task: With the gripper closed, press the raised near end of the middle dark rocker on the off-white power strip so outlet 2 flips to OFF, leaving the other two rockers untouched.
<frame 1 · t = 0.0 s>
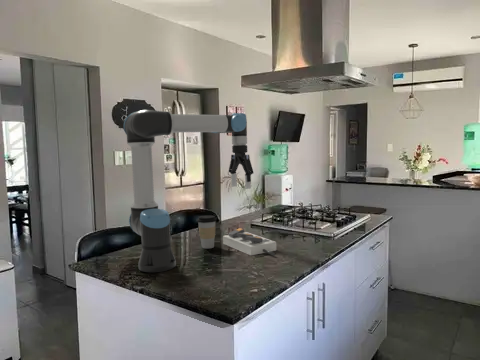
hand: (241, 187, 195), 28 cm above the worktop, fingers open, 13 cm apart
rocker 3: (236, 232, 194), point 6 cm above the worktop, hinge at -14.0°
rocker 2: (244, 235, 187), point 6 cm above the worktop, hinge at 14.0°
rocker 1: (253, 238, 180), point 6 cm above the worktop, hinge at 14.0°
coffee cup: (208, 247, 191), on the worktop
power strip: (248, 246, 188), on the worktop
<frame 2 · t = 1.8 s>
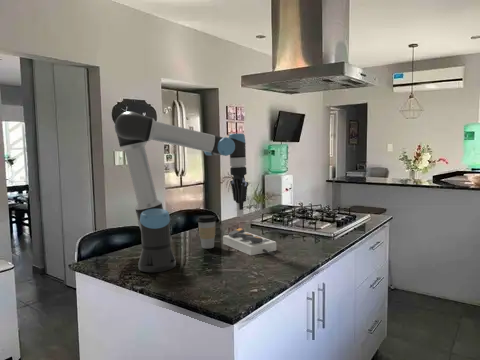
hand: (240, 216, 185), 16 cm above the worktop, fingers closed
nothing on the worktop moved.
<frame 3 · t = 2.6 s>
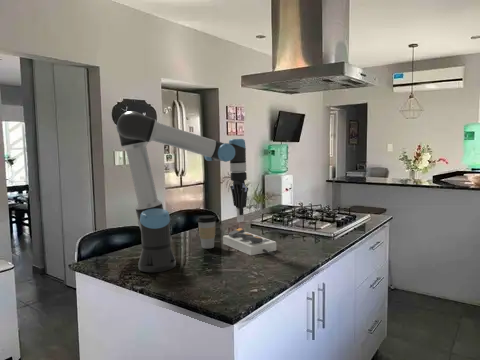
hand: (240, 221, 185), 13 cm above the worktop, fingers closed
nothing on the worktop moved.
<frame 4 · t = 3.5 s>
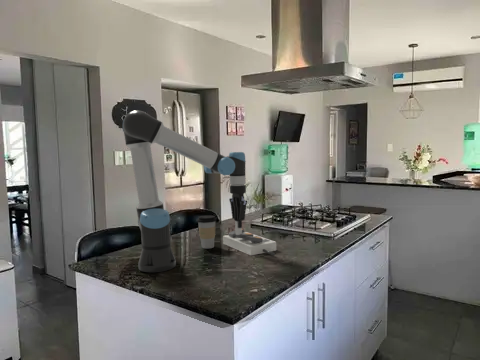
hand: (238, 234, 185), 7 cm above the worktop, fingers closed
rocker 2: (244, 235, 187), point 6 cm above the worktop, hinge at 6.1°, touching gripper
everything else where it was.
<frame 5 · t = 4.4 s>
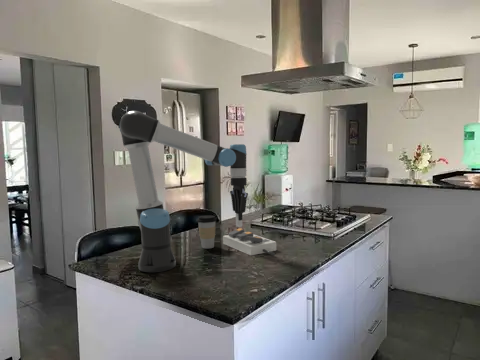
hand: (239, 226, 185), 11 cm above the worktop, fingers closed
rocker 2: (244, 235, 187), point 6 cm above the worktop, hinge at -5.2°
everything else where it was.
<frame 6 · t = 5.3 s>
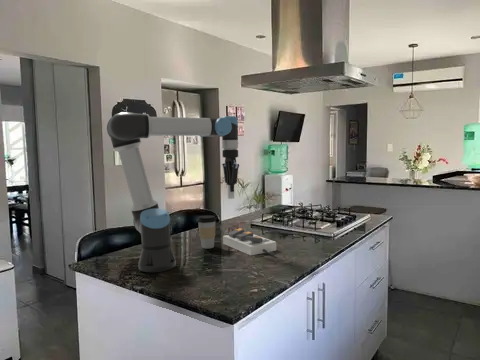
hand: (231, 198, 187), 24 cm above the worktop, fingers closed
rocker 2: (244, 235, 187), point 6 cm above the worktop, hinge at -7.3°
everything else where it was.
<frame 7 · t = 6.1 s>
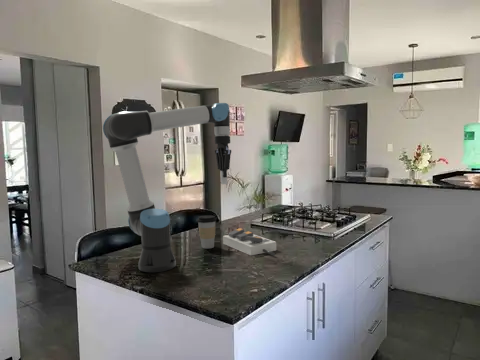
hand: (224, 184, 191), 30 cm above the worktop, fingers closed
rocker 2: (244, 235, 187), point 6 cm above the worktop, hinge at -8.3°
everything else where it was.
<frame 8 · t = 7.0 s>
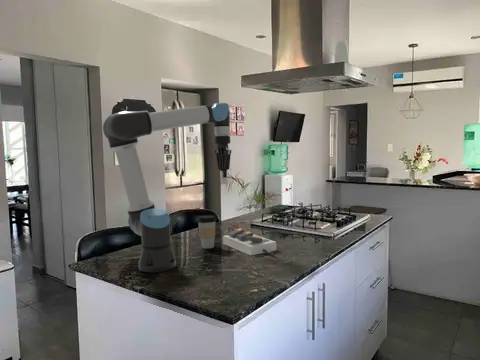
hand: (224, 184, 191), 30 cm above the worktop, fingers closed
rocker 2: (244, 235, 187), point 6 cm above the worktop, hinge at -8.8°
everything else where it was.
at the end: rocker 2 at -9° (first picture: +14°); rocker 1 at +14° (first picture: +14°); rocker 3 at -14° (first picture: -14°) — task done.
